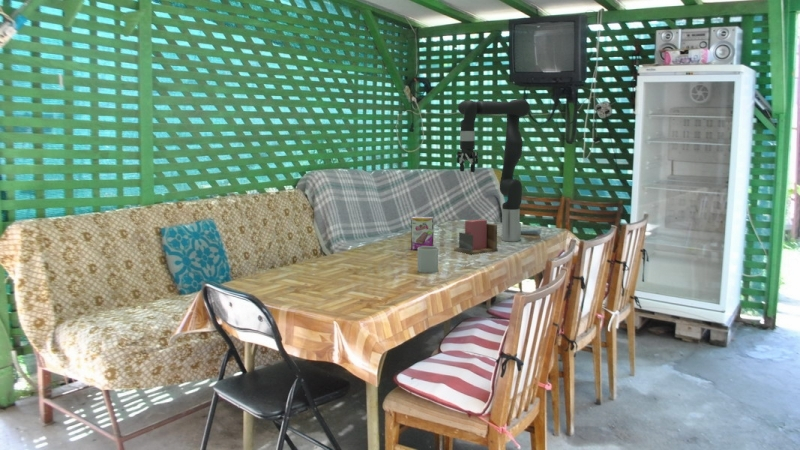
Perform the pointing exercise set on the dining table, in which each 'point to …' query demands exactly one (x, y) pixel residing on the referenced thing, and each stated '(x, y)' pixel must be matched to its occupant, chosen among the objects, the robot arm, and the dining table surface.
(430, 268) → the mug
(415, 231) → the candy bar box
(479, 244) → the burgundy book
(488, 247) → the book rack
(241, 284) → the dining table surface
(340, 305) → the dining table surface
